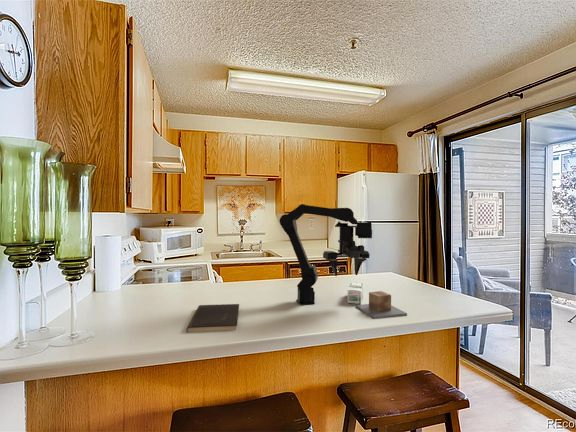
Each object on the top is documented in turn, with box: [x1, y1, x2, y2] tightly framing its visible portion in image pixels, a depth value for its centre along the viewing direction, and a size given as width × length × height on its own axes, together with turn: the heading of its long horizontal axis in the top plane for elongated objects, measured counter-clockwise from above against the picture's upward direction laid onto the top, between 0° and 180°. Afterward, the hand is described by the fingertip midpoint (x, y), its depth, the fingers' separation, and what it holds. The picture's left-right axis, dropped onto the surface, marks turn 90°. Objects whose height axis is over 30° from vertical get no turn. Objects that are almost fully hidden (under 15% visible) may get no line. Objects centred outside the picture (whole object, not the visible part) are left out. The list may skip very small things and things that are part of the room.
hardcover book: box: [186, 303, 240, 333], centre depth 110 cm, size 16×23×2 cm
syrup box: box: [347, 282, 364, 305], centre depth 136 cm, size 6×6×14 cm
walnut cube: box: [368, 290, 392, 312], centre depth 120 cm, size 6×6×6 cm
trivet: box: [355, 303, 408, 319], centre depth 120 cm, size 14×14×1 cm
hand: (346, 275), depth 127 cm, fingers open, 9 cm apart
